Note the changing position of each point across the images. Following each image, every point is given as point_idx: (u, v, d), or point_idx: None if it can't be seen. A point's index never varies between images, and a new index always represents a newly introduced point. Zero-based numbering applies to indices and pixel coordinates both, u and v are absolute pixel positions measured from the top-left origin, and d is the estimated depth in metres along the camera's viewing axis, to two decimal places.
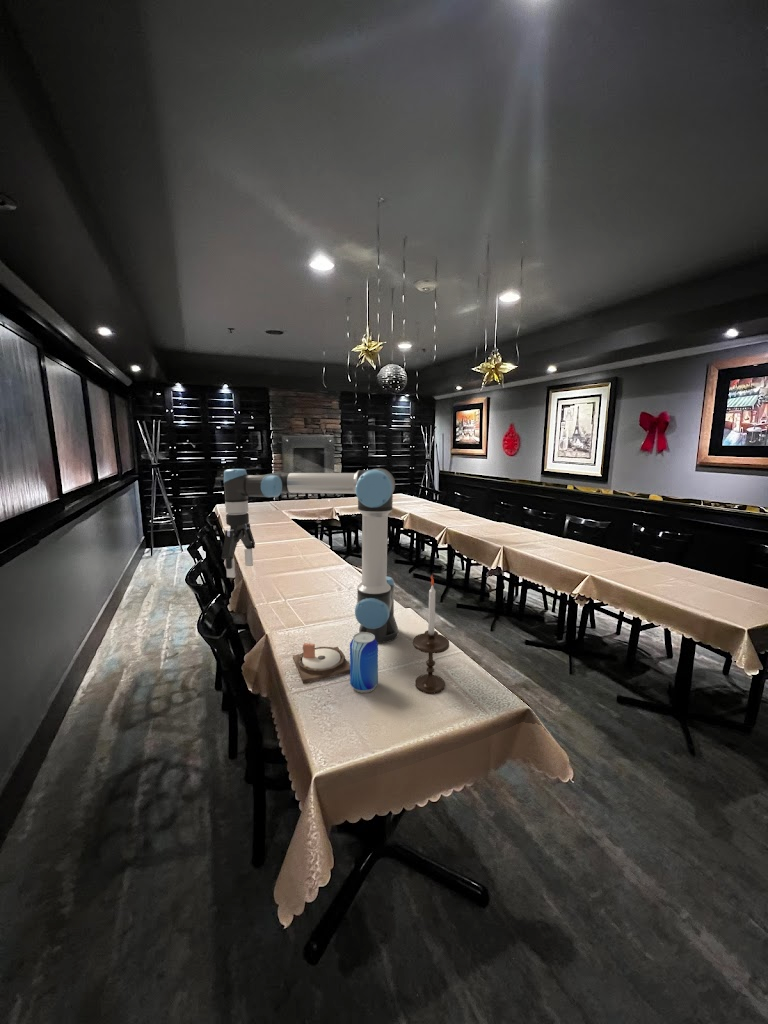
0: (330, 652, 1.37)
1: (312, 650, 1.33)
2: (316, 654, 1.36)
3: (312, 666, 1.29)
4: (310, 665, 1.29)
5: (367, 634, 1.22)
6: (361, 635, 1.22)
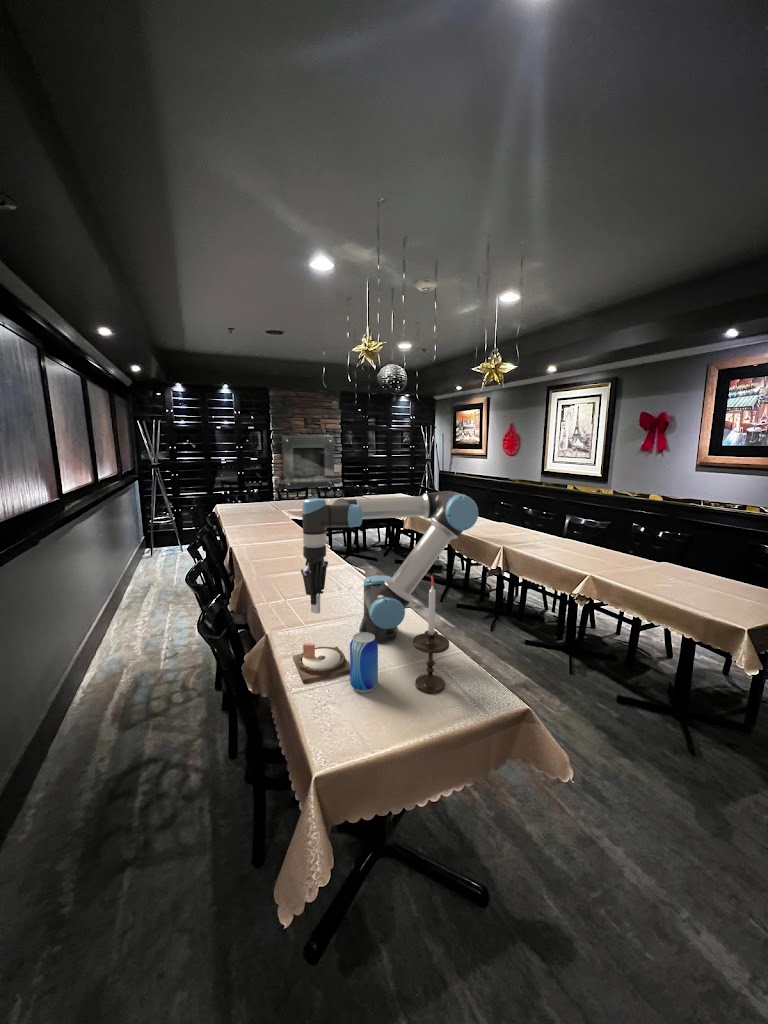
0: (330, 652, 1.37)
1: (312, 650, 1.33)
2: (316, 654, 1.36)
3: (312, 666, 1.29)
4: (310, 665, 1.29)
5: (367, 634, 1.22)
6: (361, 635, 1.22)
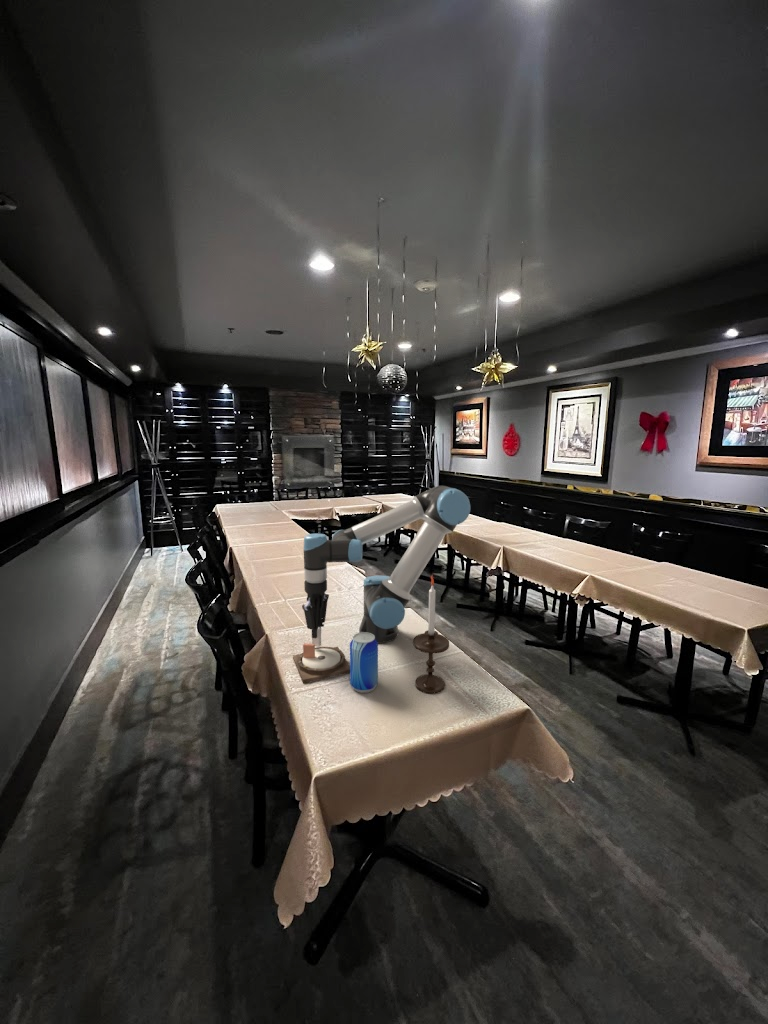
0: (330, 652, 1.37)
1: (312, 650, 1.33)
2: (316, 654, 1.36)
3: (312, 666, 1.29)
4: (310, 665, 1.29)
5: (367, 634, 1.22)
6: (361, 635, 1.22)
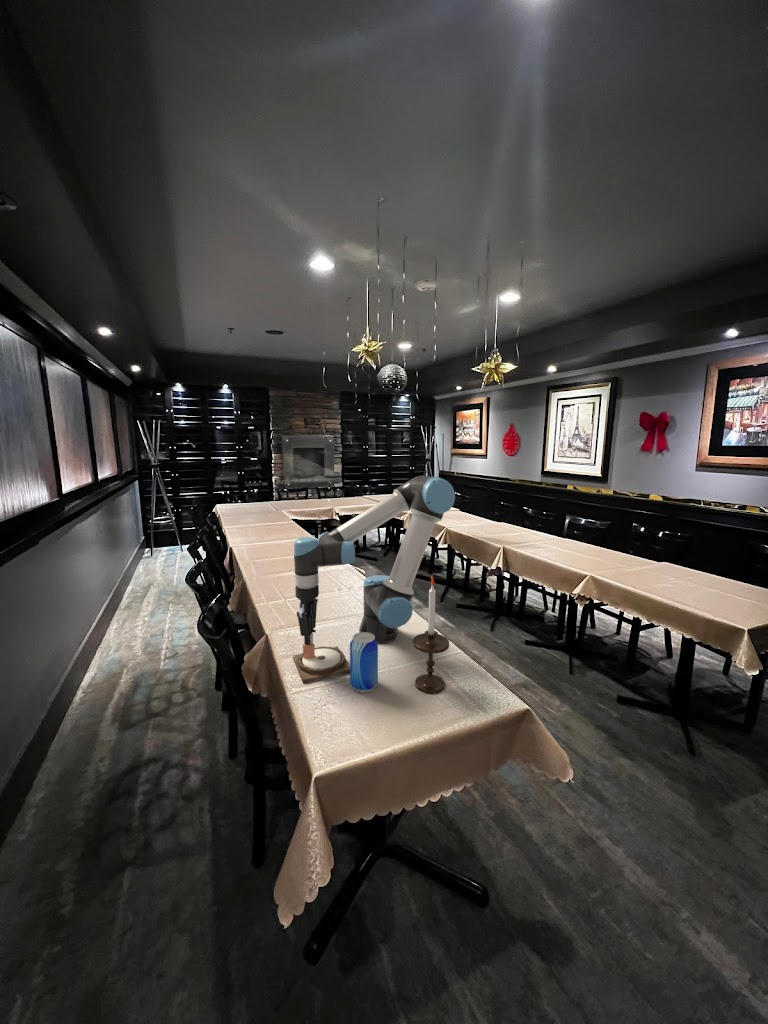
0: (330, 652, 1.37)
1: (312, 650, 1.33)
2: (316, 654, 1.36)
3: (313, 666, 1.29)
4: (311, 665, 1.29)
5: (367, 634, 1.22)
6: (361, 635, 1.22)
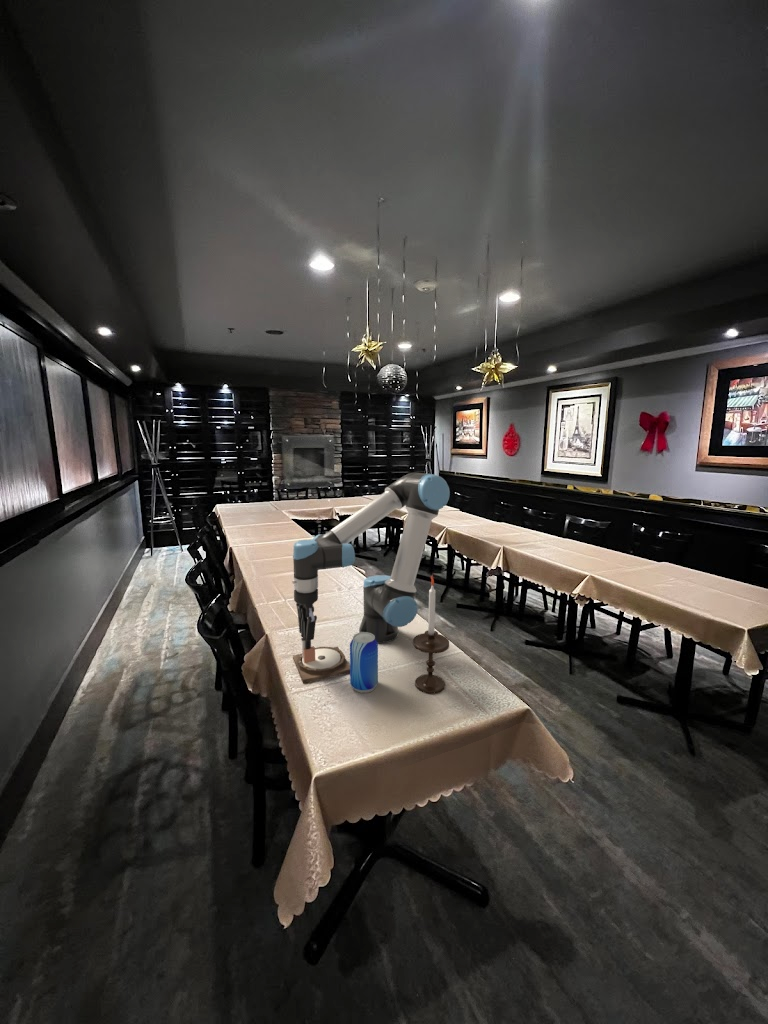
0: (323, 651, 1.38)
1: (313, 653, 1.32)
2: None
3: (323, 666, 1.28)
4: (320, 666, 1.28)
5: (367, 634, 1.22)
6: (361, 635, 1.22)
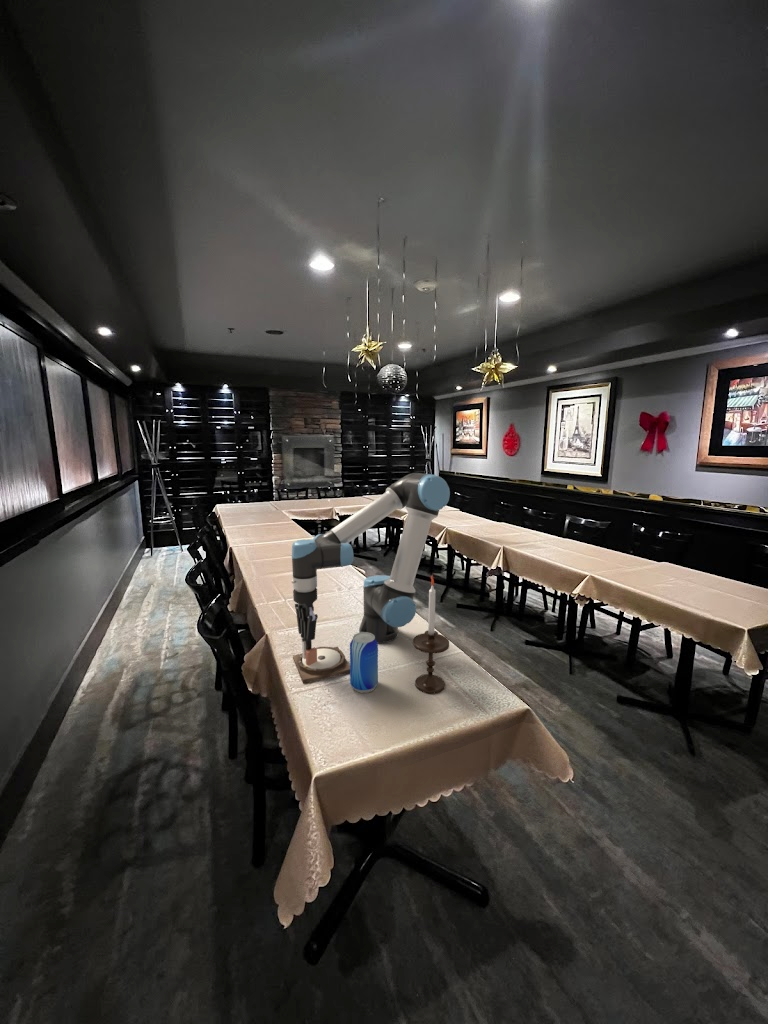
0: (319, 651, 1.38)
1: (315, 654, 1.31)
2: None
3: (329, 665, 1.29)
4: (326, 665, 1.29)
5: (367, 634, 1.22)
6: (361, 635, 1.22)
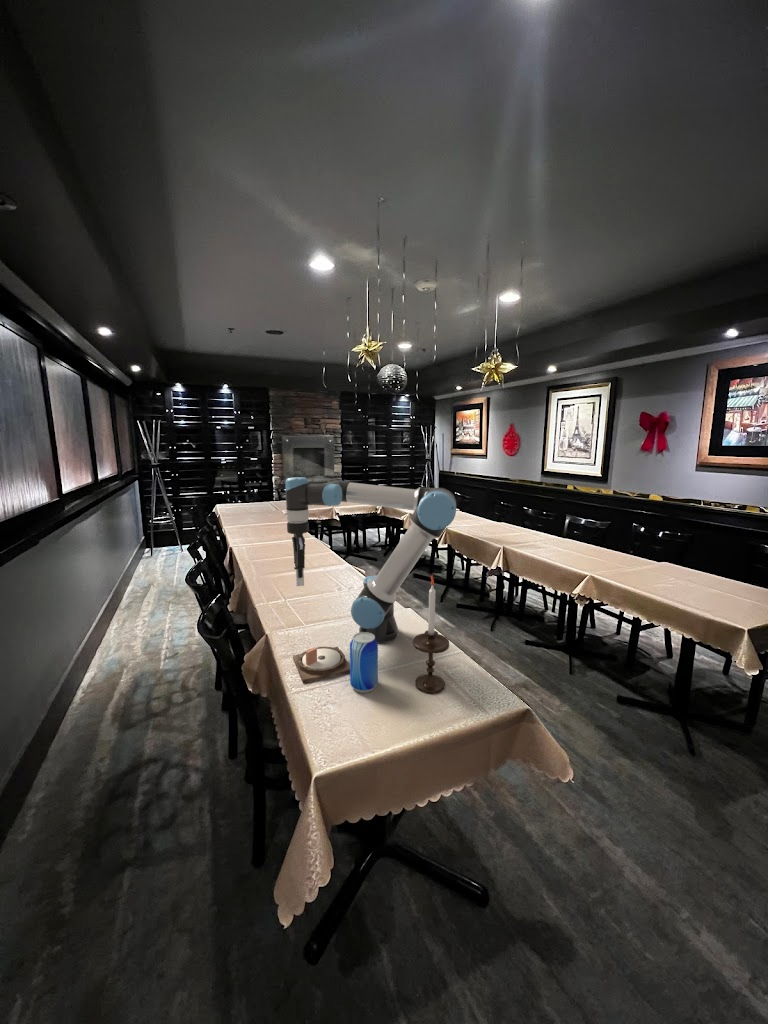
0: (319, 651, 1.38)
1: (315, 654, 1.31)
2: None
3: (329, 665, 1.29)
4: (326, 665, 1.29)
5: (367, 634, 1.22)
6: (361, 635, 1.22)
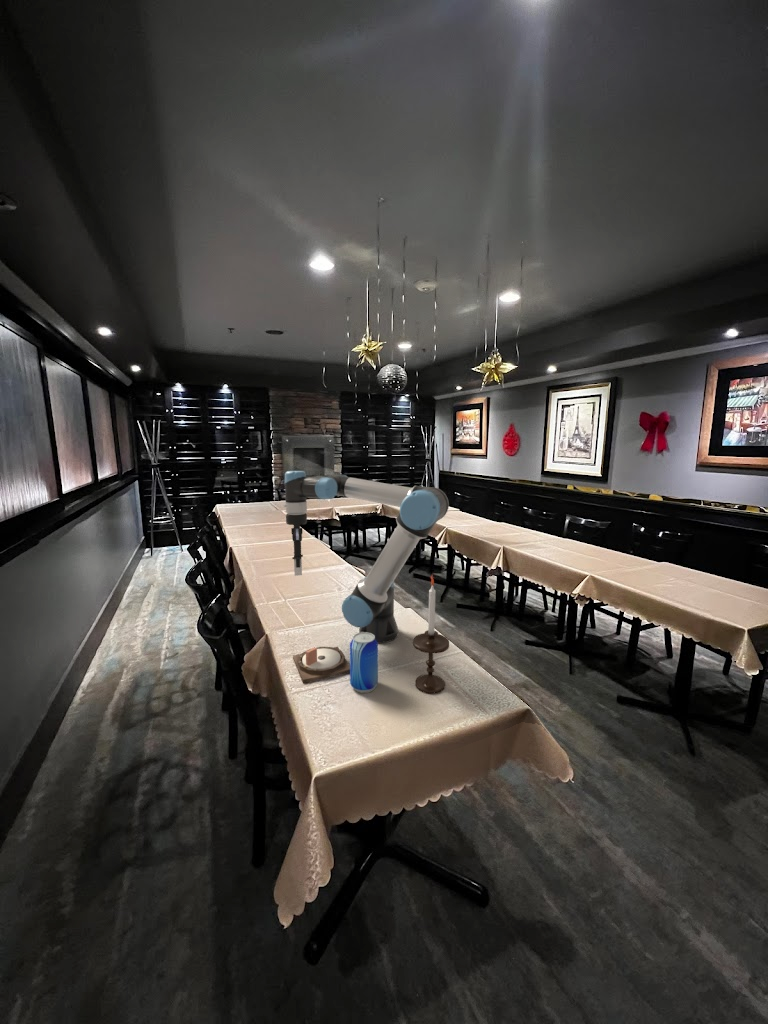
0: (319, 651, 1.38)
1: (315, 654, 1.31)
2: None
3: (329, 665, 1.29)
4: (326, 665, 1.29)
5: (367, 634, 1.22)
6: (361, 635, 1.22)
